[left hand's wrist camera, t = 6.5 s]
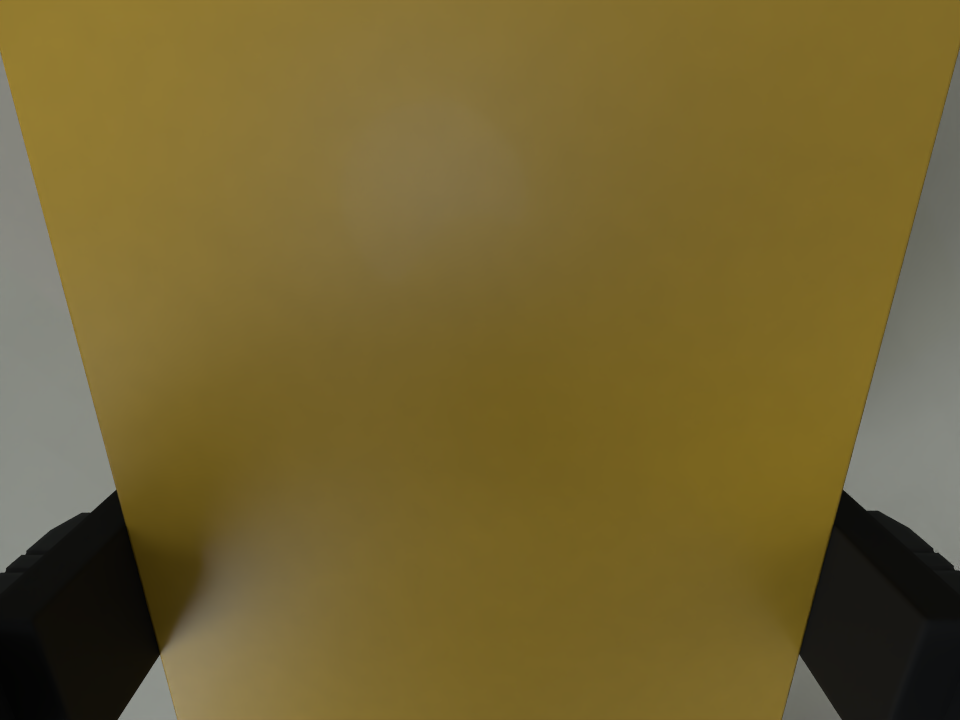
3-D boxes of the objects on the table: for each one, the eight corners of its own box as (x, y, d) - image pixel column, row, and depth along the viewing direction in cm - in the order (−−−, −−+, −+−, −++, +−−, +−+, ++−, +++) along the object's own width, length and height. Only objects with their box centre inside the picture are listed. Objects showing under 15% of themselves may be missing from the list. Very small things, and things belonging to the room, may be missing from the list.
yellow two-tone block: (226, -209, 12) (-269, -940, 4) (733, -209, 12) (1228, -940, 4) (316, 526, 18) (195, 794, 11) (643, 526, 18) (764, 794, 11)
